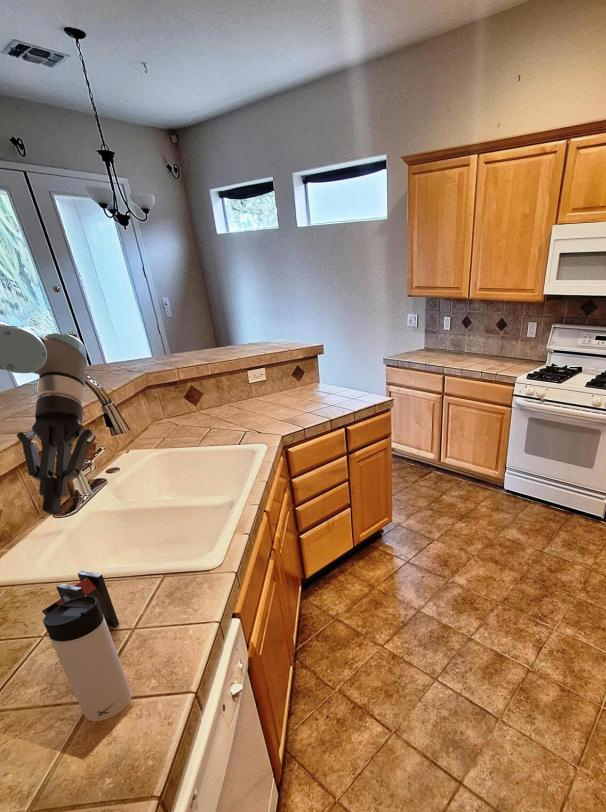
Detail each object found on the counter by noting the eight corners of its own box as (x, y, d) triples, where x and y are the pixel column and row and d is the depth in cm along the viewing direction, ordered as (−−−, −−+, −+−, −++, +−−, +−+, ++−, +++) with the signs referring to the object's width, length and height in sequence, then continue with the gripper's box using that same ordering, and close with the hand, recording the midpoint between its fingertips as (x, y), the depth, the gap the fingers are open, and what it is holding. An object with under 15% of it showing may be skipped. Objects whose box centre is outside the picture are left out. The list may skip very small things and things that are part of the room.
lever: (48, 618, 77) (39, 608, 77) (74, 601, 82) (65, 592, 81) (78, 600, 73) (68, 589, 72) (103, 583, 77) (94, 572, 76)
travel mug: (115, 730, 63) (72, 625, 54) (76, 724, 64) (27, 619, 55) (145, 695, 68) (110, 594, 60) (108, 689, 69) (68, 589, 61)
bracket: (52, 647, 77) (26, 590, 72) (96, 615, 85) (75, 561, 80) (106, 661, 75) (83, 602, 69) (146, 626, 82) (128, 571, 77)
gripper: (104, 412, 93) (99, 514, 86) (34, 415, 90) (22, 521, 82) (88, 392, 86) (80, 501, 79) (11, 394, 83) (-4, 509, 76)
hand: (51, 511), depth 81 cm, fingers closed
